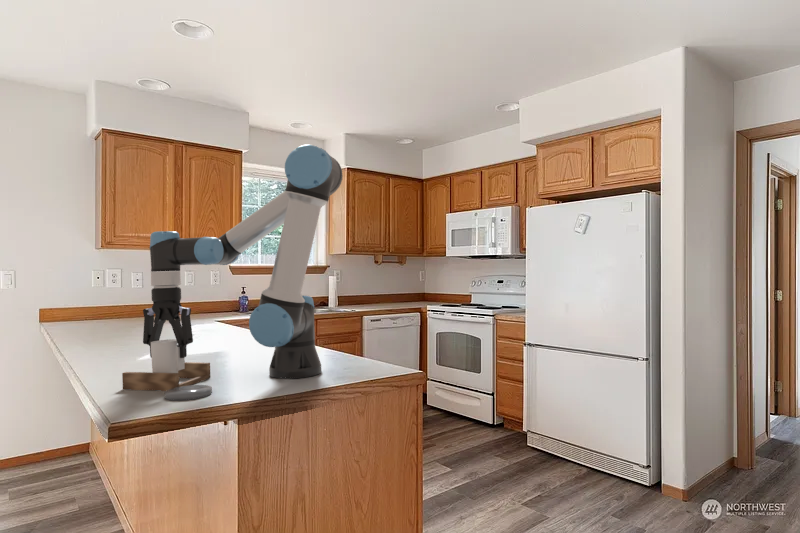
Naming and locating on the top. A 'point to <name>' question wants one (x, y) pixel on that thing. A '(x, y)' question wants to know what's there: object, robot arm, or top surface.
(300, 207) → the robot arm
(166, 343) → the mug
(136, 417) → the top surface
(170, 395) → the disc
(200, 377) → the rack
